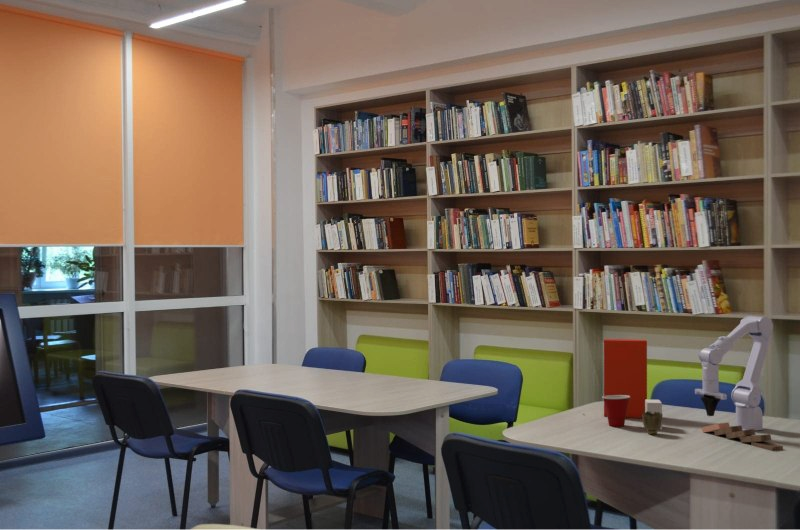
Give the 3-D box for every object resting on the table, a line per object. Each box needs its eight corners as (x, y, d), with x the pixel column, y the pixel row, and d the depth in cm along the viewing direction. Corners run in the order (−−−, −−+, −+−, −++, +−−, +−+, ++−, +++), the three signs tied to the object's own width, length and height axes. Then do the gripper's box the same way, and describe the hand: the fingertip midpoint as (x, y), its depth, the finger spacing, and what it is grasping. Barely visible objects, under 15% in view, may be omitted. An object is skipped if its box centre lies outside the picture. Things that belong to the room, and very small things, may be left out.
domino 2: (723, 429, 304) (741, 425, 296) (725, 434, 303) (742, 430, 295) (713, 430, 302) (730, 426, 294) (714, 435, 301) (732, 432, 293)
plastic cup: (615, 421, 328) (615, 392, 327) (636, 426, 318) (636, 396, 318) (596, 424, 322) (596, 394, 322) (616, 429, 313) (616, 398, 312)
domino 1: (711, 426, 309) (728, 422, 302) (713, 431, 309) (729, 427, 301) (701, 427, 308) (718, 423, 300) (702, 432, 307) (719, 428, 299)
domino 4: (749, 435, 292) (770, 434, 284) (750, 441, 292) (771, 440, 284) (739, 436, 290) (760, 435, 282) (740, 442, 290) (761, 441, 282)
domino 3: (736, 432, 298) (754, 429, 290) (737, 437, 298) (755, 434, 290) (725, 433, 296) (743, 430, 288) (726, 438, 296) (744, 435, 288)
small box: (662, 430, 311) (662, 403, 311) (647, 429, 312) (647, 402, 312) (659, 426, 319) (659, 399, 319) (645, 425, 320) (645, 399, 320)
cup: (663, 432, 306) (663, 411, 306) (661, 436, 300) (661, 415, 299) (643, 431, 309) (643, 410, 309) (640, 435, 303) (640, 413, 303)
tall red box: (604, 413, 346) (604, 338, 346) (646, 415, 342) (646, 339, 341) (604, 416, 338) (603, 340, 338) (647, 418, 334) (646, 341, 334)
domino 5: (761, 440, 287) (782, 446, 279) (761, 446, 287) (782, 451, 279) (751, 442, 285) (772, 447, 277) (751, 447, 285) (772, 453, 277)
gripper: (688, 377, 312) (688, 413, 312) (716, 383, 298) (716, 419, 298) (703, 376, 314) (703, 411, 315) (731, 382, 301) (731, 418, 301)
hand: (710, 415), depth 307 cm, fingers closed
